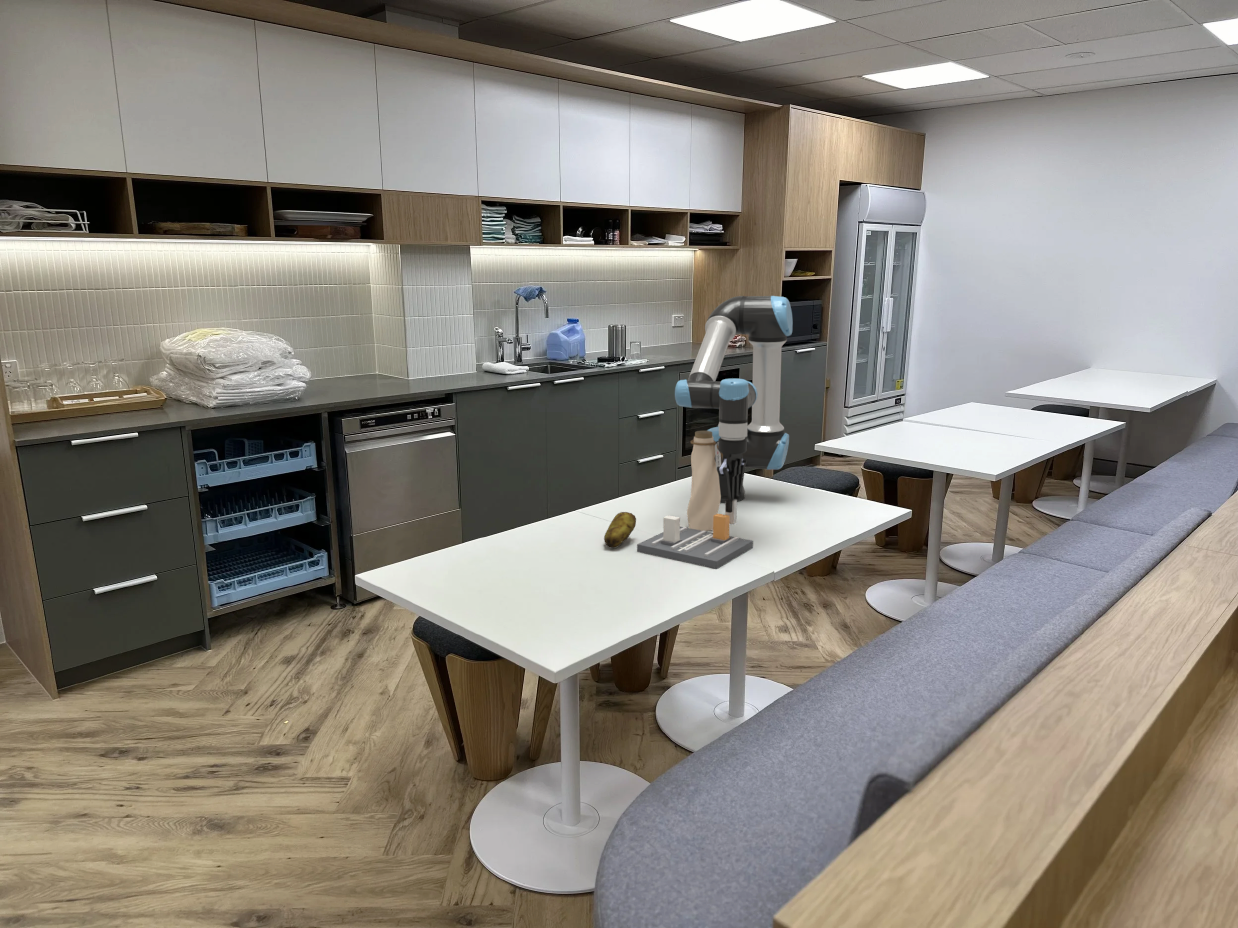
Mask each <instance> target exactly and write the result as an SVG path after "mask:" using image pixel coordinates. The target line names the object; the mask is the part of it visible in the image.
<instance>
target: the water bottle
mask: <svg viewBox="0 0 1238 928" xmlns="http://www.w3.org/2000/svg"><path fill="white" fill-rule="evenodd" d="M690 444H691V445H692V446H693V447H692V452H691V456H690V461H691V463H690V465H691V488H690V498H689V502H688V505H687V509H686V517H687V523H688V528H691V529H696V530H701V531H703V530H704V531H706V532H710V531H713V516H714V515H716V514H719V509H720V506H721V502H720V500H721V494H720V484H719V475H718V472H717V467H718V466H719V467H720V466H721V458H723V454H722V453H721V452H719V450H718V445H717V444H718V443H717V444H716V442H715V441H714V440H713V436H712V432H711V431H707V430H697V431H695V432H694V436H693V439H692V440H690ZM714 445H715V446H714ZM715 456H716V462H715Z"/></svg>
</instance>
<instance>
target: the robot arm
mask: <svg viewBox="0 0 1238 928" xmlns="http://www.w3.org/2000/svg"><path fill="white" fill-rule="evenodd" d="M793 323H794V322H793V311H792V308H791V303H790V301H789V299H788V298H787V297H784V296H777V295H750V296H749V295H738V296H734V297H729V298H728V299H727V300H725V301H723V302H722V303H720V304H718V306H717V307H715V309H713V311H712V312H711V313H710V314H709V315H708V318H707V320H706V322H705V324H704V330H705V335H704V337H703V339H702V342H701V345H700V346H699V347H700V348H699V350H698V353H697V355H696V358H695V361H694V363H693V365H692V367H691V368H692V369H691V371H690V373H689V377H688V379H680V380H678V381H677V383H676V384H675V388H674V399H675V402H676V405H677V406H679V407H684V408H691V409H692V408H693V409H697V408H698V409H715V410H716V409H717V410H719V411H718V425H717V426H716V427H711V428H709V429H707V430H706V431H711V432H712V436H713V440H714V441H715V442H716V444H717V443H718V444H717V445H718V450H719V452H721V453H722V454H723V458H721V466H720V467H719V466H718V467H717V472H718V475H719V484H720V494H721V500H720V503H722V504H723V503H724V504H725V507H724V510H725V513H724V515H729V516H730V524H731V525H735V524H737V517H738V515H737V513H738V512H737V511H738V502H739V501H742V500H744V499H745V497H746V495H745V493H746V491H745V486H744V478H745V469H746V468H749V469H758V470H759V469H760V470H761V469H762V470H766V471H767V470H780V469H782V468H783V466H784V463H785V462H786V459H787V454H788V450H789V443H790V434H788V433H787V432H785V427H784V425H783V424H782V423H781V422H780V414H781V413H780V411H781V407H780V406H781V381H782V380H781V378H782V377H781V375H782V373H781V372H782V371H781V370H782V347H783V345H784V344H785V343H786V342H787V341H788V337H790V336H792V333H793ZM736 335H748V336H747V337H748V340H747V341H748V342H749V344H750V345H752V349H753V350H752V382H751V381H748V380H746V379H743V378H725V379H722V380H721V381H716V380H717V378H718V375H719V372H720V368H721V367H722V364H723V361H724V358H725V355H726V352H727V349H728V346H729V345H730V342H731V341H732V340H733V339H734V338H735V336H736ZM750 408H751V422H750V423H749V424H748V415H749V414H748V411H749V409H750ZM714 446H715V445H714ZM715 462H716V456H715ZM730 524H729V525H730Z"/></svg>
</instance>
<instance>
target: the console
mask: <svg viewBox="0 0 1238 928" xmlns="http://www.w3.org/2000/svg"><path fill="white" fill-rule="evenodd" d="M729 537H731V540H729V541H727V542H725V543H723V544H722V543H717V542H712V541H711V538H713V532H710V531H704V530H703V531H701V530H696V529H691V528H689V527H688V526H680V539H682V541H681V542H679V543H677V544H675V545H673V546H671V545H666V544H661V540H663V532H660V533H657V534H656V535H654V536H652V537H650V538H647V539H646V540H643V541H641V542H639V543H637V545H636V552H638V553H641V554H646V555H652V556H656V557H660V558H664V559H669V560H674V561H679V562H683V563H689V564H691V565H697V566H701V567H706V568H711V569H715V570H717V569H719V568H721V567H723V566H724V565H726V564H727V563H729V562H731V561H733V560H734V559H736V558H738V557H741V555H743V554H745V553H747V552H748V551H750V550H752V549H753V548H754V540H752V539H748V538H747V539H746V538H741V537H738V536H730V535H729Z"/></svg>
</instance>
